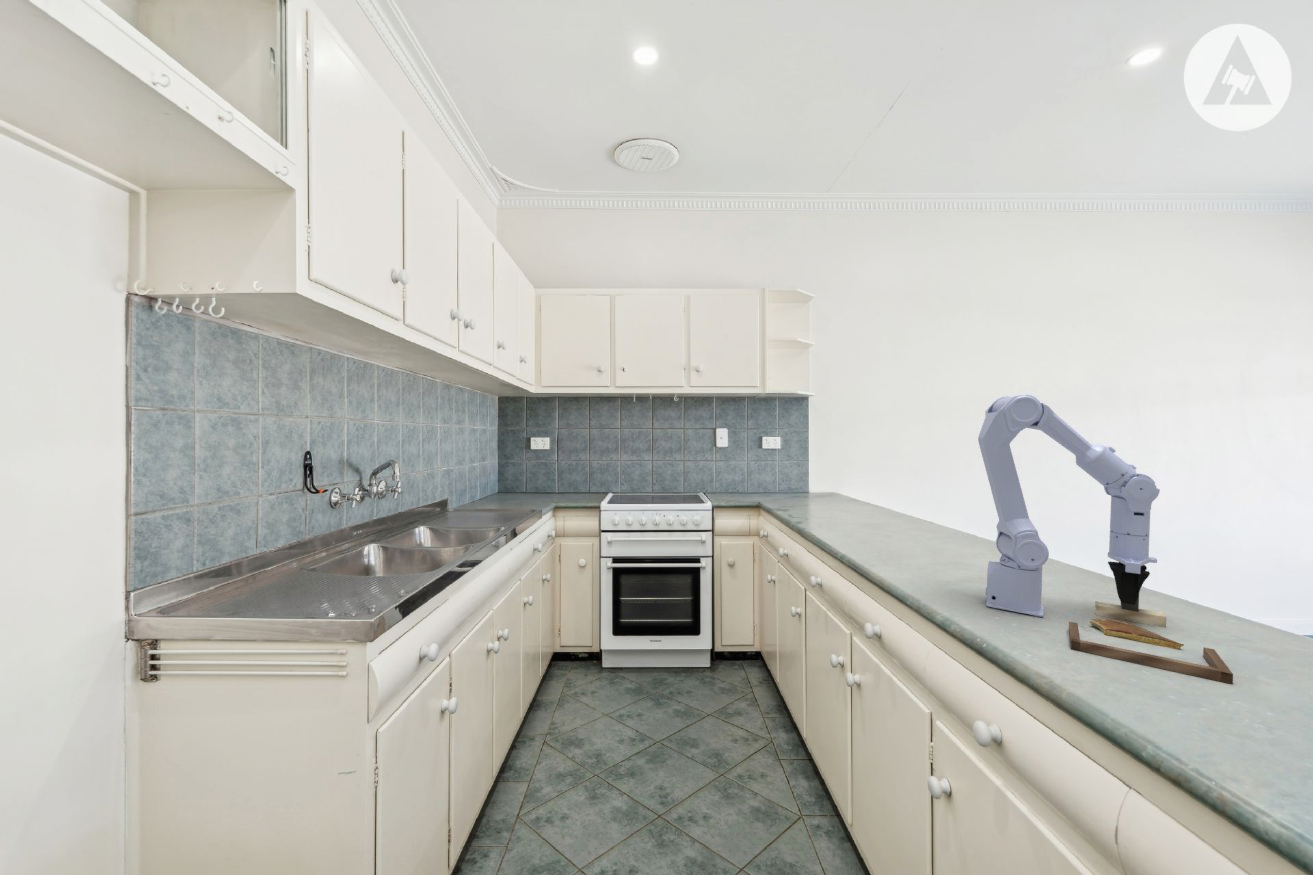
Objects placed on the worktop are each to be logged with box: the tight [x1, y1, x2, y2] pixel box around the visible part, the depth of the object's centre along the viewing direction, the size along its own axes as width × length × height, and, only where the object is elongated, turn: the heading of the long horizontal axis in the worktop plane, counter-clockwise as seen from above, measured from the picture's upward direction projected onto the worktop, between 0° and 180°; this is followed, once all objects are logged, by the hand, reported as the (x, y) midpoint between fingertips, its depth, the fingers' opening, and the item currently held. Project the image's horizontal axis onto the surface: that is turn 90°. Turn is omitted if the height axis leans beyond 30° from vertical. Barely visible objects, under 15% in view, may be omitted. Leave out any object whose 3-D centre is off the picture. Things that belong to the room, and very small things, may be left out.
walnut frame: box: [1068, 621, 1234, 685], centre depth 84 cm, size 18×11×2 cm, turn 52°
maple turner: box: [1094, 594, 1167, 629], centre depth 100 cm, size 10×3×7 cm, turn 52°
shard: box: [1089, 618, 1185, 650], centre depth 91 cm, size 11×8×2 cm
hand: (1126, 601), depth 100 cm, fingers closed on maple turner, 2 cm apart
